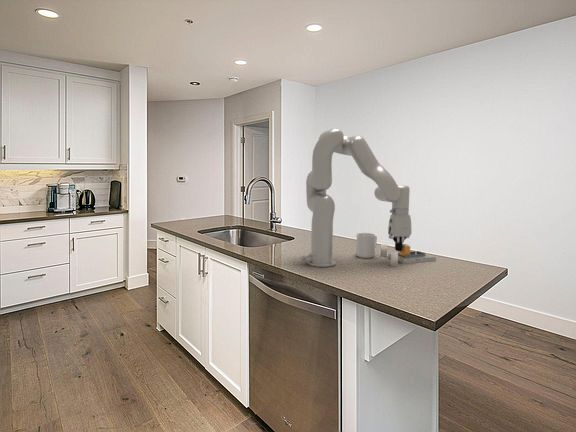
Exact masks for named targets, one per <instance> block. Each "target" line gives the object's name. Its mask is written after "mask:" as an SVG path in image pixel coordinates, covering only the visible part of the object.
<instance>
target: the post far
mask: <svg viewBox="0 0 576 432" xmlns="http://www.w3.org/2000/svg"><path fill="white" fill-rule="evenodd" d="M380 257H382V258H386V257H387V258H388V244H387V243H380Z"/></svg>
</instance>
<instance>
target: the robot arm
mask: <svg viewBox="0 0 576 432" xmlns="http://www.w3.org/2000/svg"><path fill="white" fill-rule="evenodd" d="M334 153H336V154H339V155H344V156H349V157H350V156H351V157H352V158H353V160H354V162H355V164H356V165H357V166H358V169H359V170H360V172H361V173H362V174H363V175H364V176H365V177H367V178H369V179H371V180H372V181H373V182H374V183H375V184H376V185H377V186H376V188H375V189H374V198H376V199H377V200H378V201H380V202H385V203H386V202H387V203H391V209H389V213H390V216H389V220H388V221H389V222H388V226H387V227H388V228H387V230H388V239H390V240H392V241H393V242H394V250H395V252H400V251H402V245H403V244H404V241H405V240H407V239H409V238H410V236H411V235H412V218H411V214H409V210H410V186H408V185H398V184H397V182H396V180H395V179H394V177H393V175H392V174H390V172H389V171H388V170H387V169H386V168H385V167H384V166H383V165H382V164H381V163H380V162H379V161H378V159H377V158H376V156H375V154H374V152H373V151H372V149H371V147H370V146H369V144H368V143H367V140H366V139H365V138H364V137H363V136H360V135H353V136H346V135H344V132H343V131H342V130H341V129H338V128H331V129H329V130H326V131H324V132H322V133H321V134H320V135H319V137H318V140H317V141H316V143H315V146H314V147H313V151H312V157H311V158H312V160H311V163H312V164H311V171H310V172H309V173H308V174H307V176H306V181H305V185H306V189H305V190H306V191H305V193H306V206H307V208H308V209H309V211H310V212H312V217H311V228H310V229H311V233H310V234H311V239H310V240H311V241H310V242H311V244H310V247H311V248H310V252H309V253H308V254H307V255H300V260H301V261H306V262H307V264H308V265H309V266H311V267H319V268H328V267H333V266H335V265H336V264H337V263H336V260H335V259H333V246H334V245H333V241H334V240H333V239H334V238H333V237H334V236H333V235H334V216H335V211H336V209H335V208H336V205H335V200H334V199H333V198H332V197H331V196H330V195H329V194H327V190H329V189H330V188H331V187H332V184H333V172H332V171H333V169H332V168H333V167H332V164H333V163H332V161H333V155H334Z"/></svg>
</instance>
